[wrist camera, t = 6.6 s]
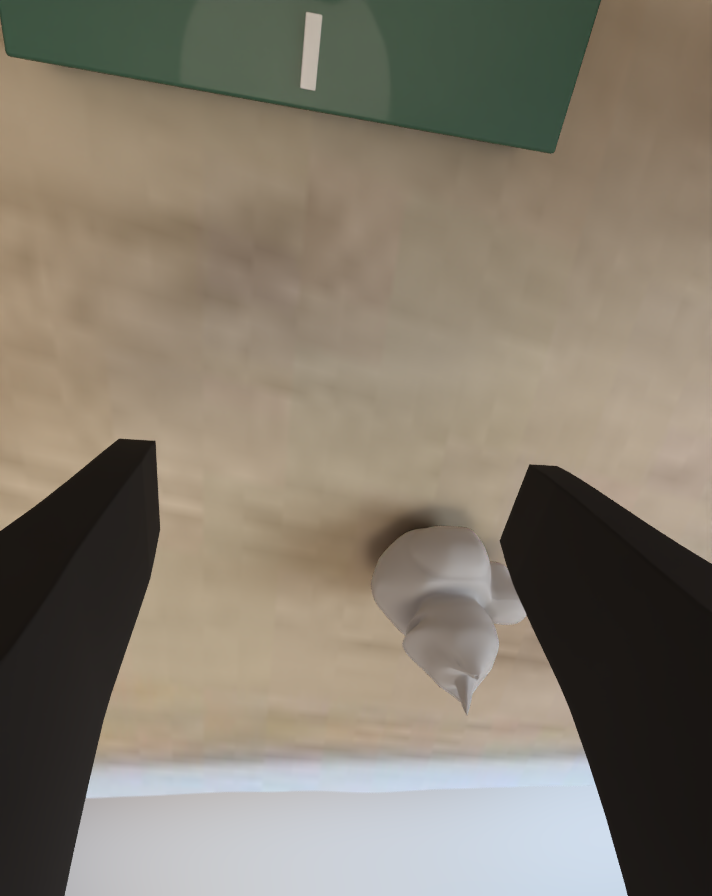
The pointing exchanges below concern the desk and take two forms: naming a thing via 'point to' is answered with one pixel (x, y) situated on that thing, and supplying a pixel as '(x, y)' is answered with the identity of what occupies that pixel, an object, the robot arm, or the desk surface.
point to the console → (336, 55)
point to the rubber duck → (446, 604)
